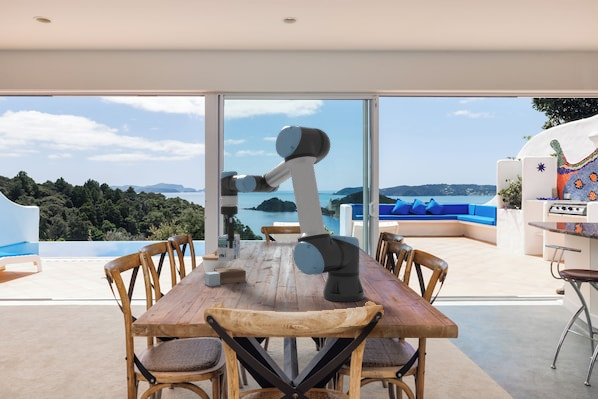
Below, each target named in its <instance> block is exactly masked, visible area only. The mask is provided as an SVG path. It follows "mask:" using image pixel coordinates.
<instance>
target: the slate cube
mask: <svg viewBox="0 0 598 399" xmlns="http://www.w3.org/2000/svg"><path fill="white" fill-rule="evenodd" d="M204 285H206V286H208V287H215V286H221V283H220V273H218V272H206V271H205V272H204Z"/></svg>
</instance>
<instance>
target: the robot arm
mask: <svg viewBox="0 0 598 399" xmlns="http://www.w3.org/2000/svg"><path fill="white" fill-rule="evenodd" d="M275 140H276V141H275V151H276V153H277V155H278V156H279V157H281V158H283V161H281V162H280V163H279V164H277V165H276V166H275V167H273V168H272V169H270V170H269V171H268V172H266V173H264V174H263V175H251V174H241V175H239V173H238V171H235V170H228V171H227V170H223V171H221V173H220V179H219V180H220V197H219V199H218V200H219V201H220V205H221V206H220V214H221V215H222V216H223V215H224V235H226V234H228V239H226V241H228V256H234V239H235V238H234V235H235V218H234V217H233V216H236V215H238V212H239V209H238V206H237V205H239V193H240V194H241V193H242V194H245V193H247V194H248V193H250V194H251V193H253V194H254V193H267V194H268V193H269V194H270V193H275V192H277V191H278V190H279V188H280V185H282V183H284V182H286V181H287V180H289V179H291V182H292V188H293V193H294V199H295V205H296V212H297V217H298V225H299V230H300V234H299V236H297V243H296V244H295V245H294V250H293V251H292V252H293V253H292V257H293V262H294V264H295V266H296V267H297V269H298V270H299V271H300V272H301V273H303V274H305V275H306V276H313V275H315V276H318V275H321V274H326V273H327V278H326V281H325V284H324V288H323V292H322V293H323V295H322V297H323V298H324V299H326V300H328V301H331V302H338V303H339V302H341V303H343V302H344V303H350V302H359V301H361V300H363V299H364V298H365V291H364V288H363V285H362V282H361V279H360V250H361V248H360V247H361V246H360V241H359V238H357V237H356V236H346V235H338V234H337V235H336V234H331V233H330V232H329V231H328V230H326V229H325V225H324V224H325V223H324V218H323V213H322V207H321V201H320V196H319V190H318V185H317V179H316V171H315V167H314V165H317V164H318V163H320V162H321V161H322V160H324V159H325V158H326V157H327V156H328V154H329V153H330V149H331V141H330V137H329V136H328V134H327V133H326V132H325V131H324V130H322V129H320V128H315V127H307V126H299V125H287V126H284V127H283V128H281V130H280V131H279V132H278V135H277V137H276V139H275Z"/></svg>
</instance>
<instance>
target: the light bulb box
mask: <svg viewBox="0 0 598 399" xmlns="http://www.w3.org/2000/svg"><path fill="white" fill-rule="evenodd" d="M217 238H218V239H217V241H218V243H217V244H218V245H217V246H218V247H217V248H218V249H217V254H218V260H221V261H229V262H233V261H235V260H238V259H240V258H241V250H240V249H241V234H234V238H235V239H234V256H228V241H226V239H228V234H226V235H218V237H217Z"/></svg>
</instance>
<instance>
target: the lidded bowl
mask: <svg viewBox="0 0 598 399" xmlns="http://www.w3.org/2000/svg"><path fill="white" fill-rule="evenodd" d="M229 264H230V261H221V260H218V251H214V253H211V254H210V253H209V254H204V255H202V267H203V269H204V271H205V273H206V272H214V268H225V267H230V266H229Z"/></svg>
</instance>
